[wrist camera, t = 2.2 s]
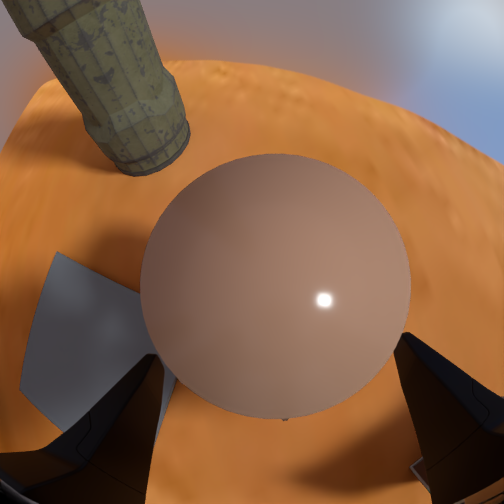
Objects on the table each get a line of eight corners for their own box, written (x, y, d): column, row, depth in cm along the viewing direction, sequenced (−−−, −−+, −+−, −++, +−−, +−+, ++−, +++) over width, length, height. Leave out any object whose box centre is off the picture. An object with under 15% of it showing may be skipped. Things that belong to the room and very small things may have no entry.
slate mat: (142, 481, 15) (139, 484, 14) (23, 389, 17) (19, 389, 17) (198, 319, 19) (196, 318, 19) (60, 253, 22) (56, 251, 21)
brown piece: (305, 379, 17) (364, 446, 5) (208, 346, 19) (104, 351, 6) (335, 284, 19) (422, 196, 7) (242, 254, 21) (202, 133, 8)
